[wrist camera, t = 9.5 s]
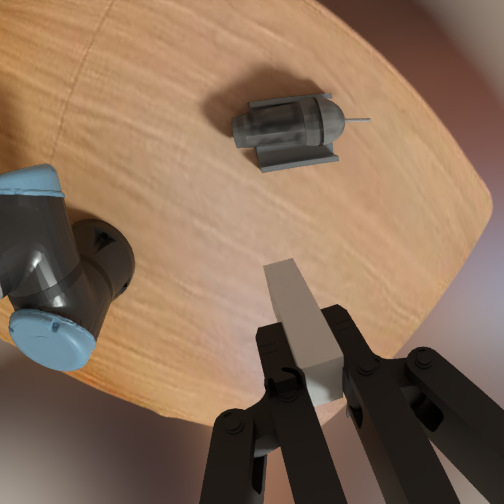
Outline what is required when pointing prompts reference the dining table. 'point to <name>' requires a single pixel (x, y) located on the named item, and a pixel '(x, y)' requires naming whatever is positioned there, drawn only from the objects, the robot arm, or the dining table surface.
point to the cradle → (291, 154)
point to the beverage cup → (291, 124)
